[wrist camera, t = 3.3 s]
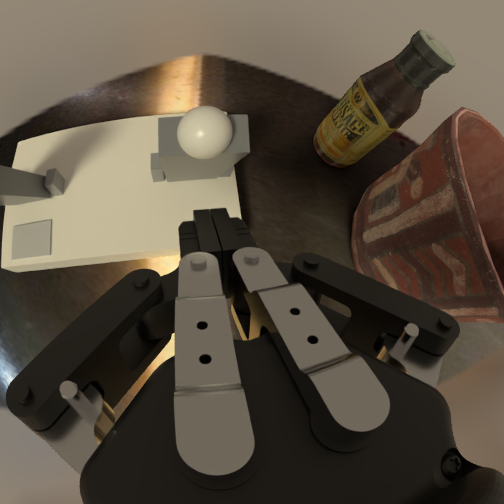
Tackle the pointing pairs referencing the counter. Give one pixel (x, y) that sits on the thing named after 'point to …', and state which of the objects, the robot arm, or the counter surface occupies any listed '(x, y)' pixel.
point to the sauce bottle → (381, 101)
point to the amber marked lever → (201, 143)
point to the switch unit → (104, 198)
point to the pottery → (440, 222)
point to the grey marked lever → (21, 187)
